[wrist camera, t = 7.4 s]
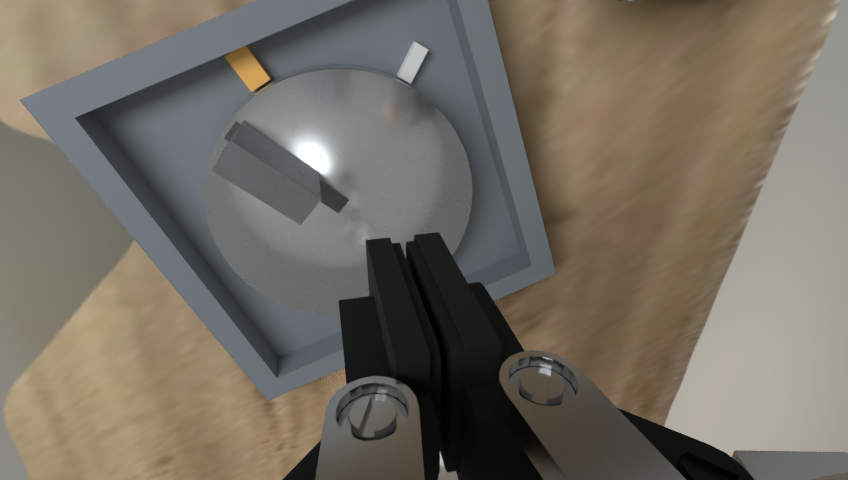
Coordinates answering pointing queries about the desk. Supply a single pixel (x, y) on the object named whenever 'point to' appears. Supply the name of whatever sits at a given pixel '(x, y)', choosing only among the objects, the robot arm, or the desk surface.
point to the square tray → (222, 96)
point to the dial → (331, 182)
